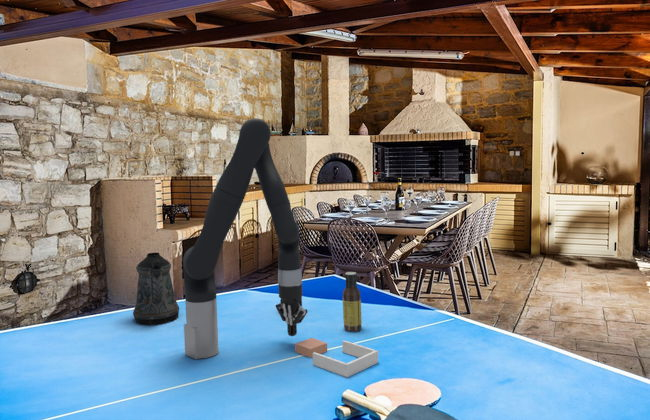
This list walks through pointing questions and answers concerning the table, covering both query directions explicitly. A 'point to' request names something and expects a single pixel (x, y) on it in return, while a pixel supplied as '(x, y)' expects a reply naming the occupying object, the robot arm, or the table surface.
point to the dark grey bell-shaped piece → (155, 292)
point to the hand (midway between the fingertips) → (292, 335)
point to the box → (347, 369)
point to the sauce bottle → (351, 303)
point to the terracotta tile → (310, 347)
